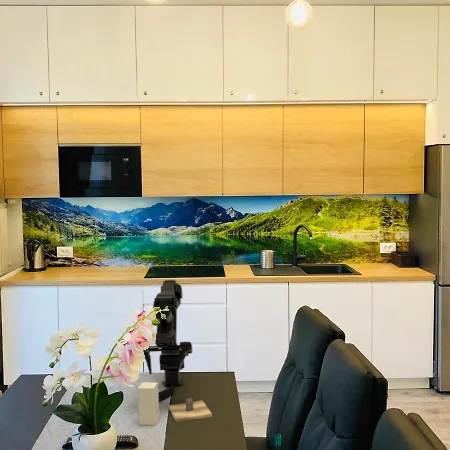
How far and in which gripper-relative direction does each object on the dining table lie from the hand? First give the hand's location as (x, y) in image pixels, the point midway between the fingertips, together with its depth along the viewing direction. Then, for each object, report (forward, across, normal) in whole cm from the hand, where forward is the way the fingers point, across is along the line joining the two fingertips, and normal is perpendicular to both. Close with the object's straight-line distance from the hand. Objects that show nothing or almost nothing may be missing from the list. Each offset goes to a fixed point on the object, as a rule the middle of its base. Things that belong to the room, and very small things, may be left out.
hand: (164, 373), depth 183 cm
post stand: (+12, +8, +6) cm, 15 cm away
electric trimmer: (+6, -4, +16) cm, 17 cm away
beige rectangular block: (+15, -4, +1) cm, 16 cm away
